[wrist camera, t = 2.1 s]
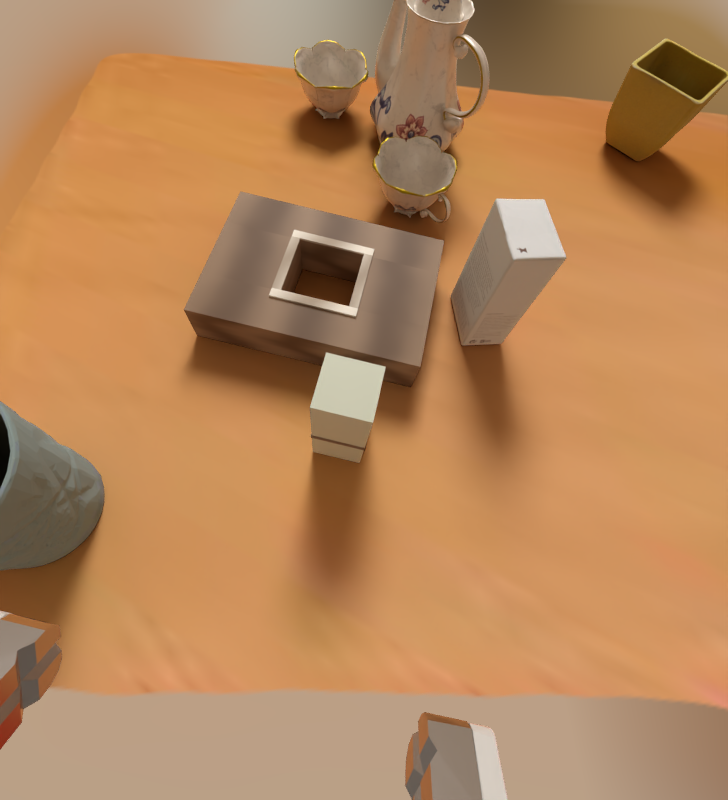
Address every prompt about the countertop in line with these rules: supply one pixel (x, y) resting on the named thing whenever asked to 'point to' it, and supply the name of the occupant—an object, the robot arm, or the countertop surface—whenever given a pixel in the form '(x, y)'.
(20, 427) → the blue-grey embossed planter
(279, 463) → the countertop surface
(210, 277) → the socket board
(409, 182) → the chinaware
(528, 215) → the skincare box
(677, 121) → the flower pot
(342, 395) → the sage peg
